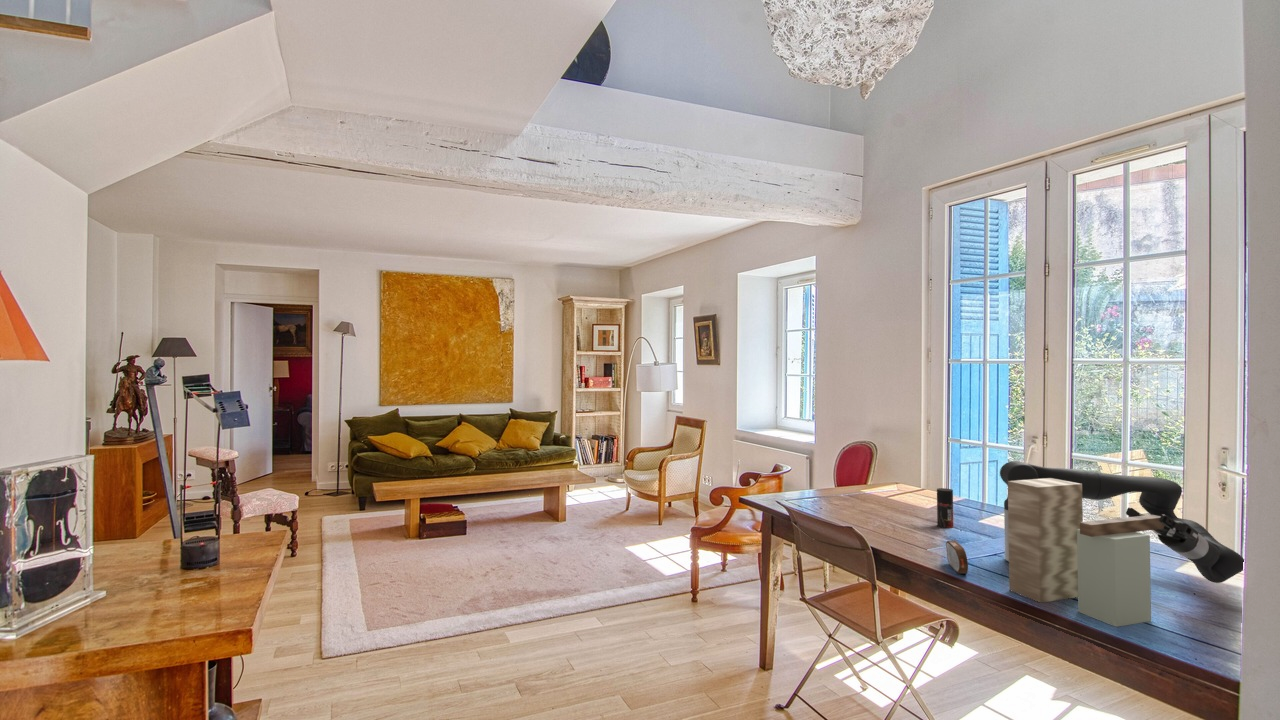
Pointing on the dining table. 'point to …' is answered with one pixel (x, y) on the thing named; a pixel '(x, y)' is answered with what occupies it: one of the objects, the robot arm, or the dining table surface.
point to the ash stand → (1044, 538)
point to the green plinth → (1114, 577)
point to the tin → (957, 557)
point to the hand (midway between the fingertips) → (1144, 514)
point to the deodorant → (945, 508)
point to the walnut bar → (1120, 525)
